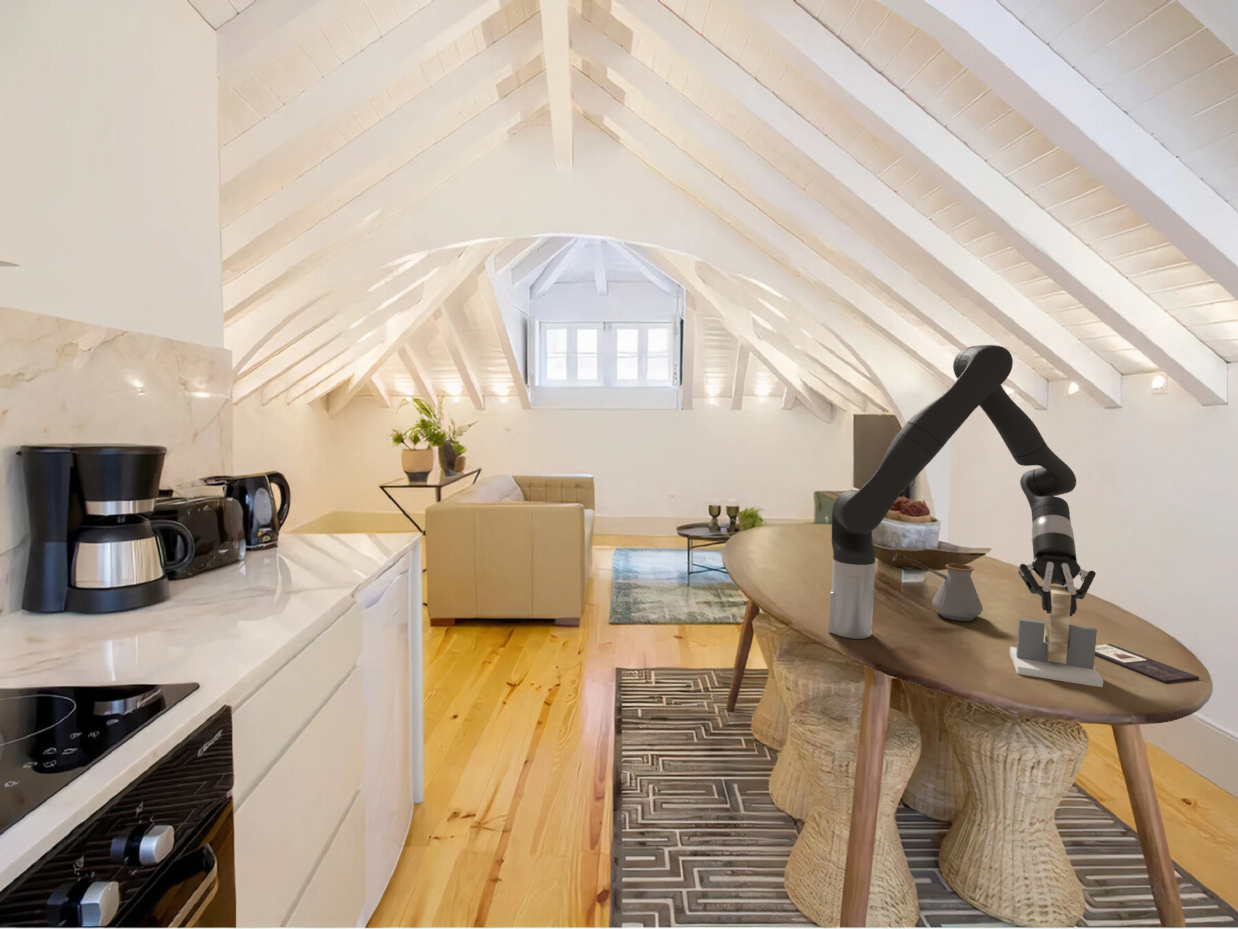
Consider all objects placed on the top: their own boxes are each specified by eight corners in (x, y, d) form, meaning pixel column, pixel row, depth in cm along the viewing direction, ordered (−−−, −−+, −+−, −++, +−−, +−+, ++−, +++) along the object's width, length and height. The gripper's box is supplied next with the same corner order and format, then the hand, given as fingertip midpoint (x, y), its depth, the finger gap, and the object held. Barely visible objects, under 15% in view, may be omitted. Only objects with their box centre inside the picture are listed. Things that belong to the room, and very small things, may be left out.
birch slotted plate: (1047, 661, 130) (1053, 593, 129) (1042, 651, 135) (1047, 585, 134) (1065, 664, 129) (1071, 595, 127) (1059, 653, 134) (1065, 587, 133)
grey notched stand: (1017, 673, 130) (1020, 627, 129) (1009, 653, 141) (1012, 610, 140) (1102, 687, 124) (1106, 639, 123) (1087, 665, 135) (1091, 620, 134)
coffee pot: (977, 612, 169) (980, 555, 168) (986, 626, 158) (990, 565, 157) (888, 603, 176) (891, 548, 174) (892, 615, 165) (895, 558, 164)
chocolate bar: (1164, 680, 126) (1078, 647, 144) (1163, 685, 126) (1078, 651, 144) (1199, 676, 128) (1110, 644, 146) (1198, 681, 129) (1110, 648, 146)
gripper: (1017, 528, 139) (1021, 598, 129) (1096, 534, 134) (1107, 608, 124) (1012, 547, 145) (1016, 616, 135) (1088, 554, 139) (1098, 627, 129)
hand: (1059, 612), depth 129 cm, fingers closed on birch slotted plate, 3 cm apart
